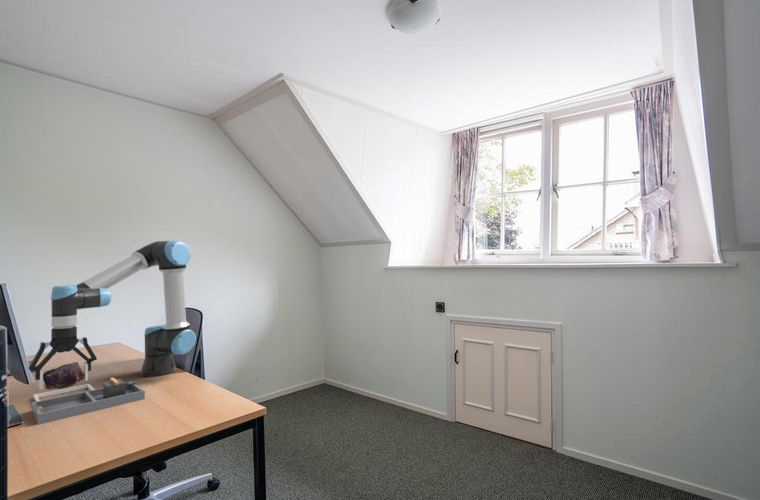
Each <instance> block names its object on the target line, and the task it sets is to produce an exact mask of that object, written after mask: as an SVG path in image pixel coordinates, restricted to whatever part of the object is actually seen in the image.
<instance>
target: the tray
mask: <svg viewBox="0 0 760 500" xmlns="http://www.w3.org/2000/svg"><path fill="white" fill-rule="evenodd" d="M83 389H87V390H88V391H90V390H94V389H95V388H94V386H92V385H91V384H90V383H86V384H82V385H76V386H71V387H67V388H63V389H56V390H55V389H54V390H50V391H45V392H41V393H35V394H33V400H34V402H37V401H41V400H40V398H44V397H49V396H50V397H51V396H53V395H59V394H64V393H69V392H74V391H79V390H83Z"/></svg>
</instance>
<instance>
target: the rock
mask: <svg viewBox="0 0 760 500" xmlns="http://www.w3.org/2000/svg"><path fill="white" fill-rule="evenodd" d="M82 380H84V370H82V367H80V364H79V363H78V362H77V361H74V362H71V363H66V364H62V365H61V366H58V367H56V368H52V369H49V370H46V371H43V383H44V387H45V389H46V390H53V389H54V390H55V389H56V390H60V389H65V388H70V387H73V386H74V385H77V383H79V382H81V381H82Z"/></svg>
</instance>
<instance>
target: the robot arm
mask: <svg viewBox="0 0 760 500" xmlns="http://www.w3.org/2000/svg"><path fill="white" fill-rule="evenodd" d="M191 256H192V253H191V249H190V247H189V246H188V245H187V244H186V243H185V242H184V241H180V240H165V241H164V240H159V241H154V242H151V243H148V244H147V245H145V246H143V247H141V248H139V249H137V250H135V251H133V252H132V253H131V256H129V257H127V258H125V259H123V260H121V261H119V262H117V263H115V264H114V265H111V266H110V267H108V268H106V269H105V270H103V271H101V272H98V273H97V274H95V275H93V276H91V277H90V278H88V279H85V280H84V281H82V282H80V283H78V284H76V285H74V284H67V285H63V284H62V285H54V286H53V287H52V289H51V297H50V299H51V300H50V301H51V325H50V327H52V328H51V332H50V337H51V339H50V341H48V342H45V341H41V342H40V343H39V349H38V350H37V352H36V354H35V355H34V357H33V359H32V361H31V362H30V364H29V366H28V369H29V371H31V372H32V371H34V373H35V374H34V377H35V380H36V381H38V389H39V390H43V388H44V380H43V374H44V370H43V367H45V365H46V364H47V363H48V362H49V361H50V360H51V359H52V358H53V356H55V355H56V353H64V352H67V353H68V352H69V353H70V352H71V351H73V352H75V353H76V354H77V355H79V356H80V357H81V358H82V359H83V360H84V361H85V362H83V374H84V379H83V380H84V381H85V382H87V381H89V372H91V370H92V362H94V361H97V359H98V358H97V356H96V354H95V353H94V351H93V349H92V348H91V346H90V345H89V343H88V338H87V337H85V336H83V337H81V338H78V334H77V333H78V331H77V330H78V327H77V324H78V315H77V314H78V310H83V309H92V308H94V309H95V308H102V307H106V306H108V305H110V303H111V302H112V293H111V291H110V288H111V287H113V286H115V285H117V284H118V283H119V282H122V281H123V280H125V279H127V278H129V277H130V276H132V275H134V274H136V273H138V272H139V271H142V270H144V271H146V270H147V269H149V268H151V267H156V266H158V271H159V272H161V273H162V278H163V296H164V308H165V310H164V311H165V324H159V325H153V326H147V327H146V328H145V330H144V335H143V336H144V359H143V363H142V365H141V368H140V376H142V377H159V376H164V375H169V374H172V373H174V372H176V368H177V367H176V364H175V360H174V358H173V355H172V354H174V355H185V354H188V353H189V352H190V351H192V349H193V347H195V345H196V341H197V336H196V333H195V332H194V331H193V330H191V324H190V323H189V322H188V321H187V315H186V314H187V312H186V300H185V298H186V297H185V284H184V283H185V282H184V272H185V270H186V269H187V265H188V263H189V261H190V260H191ZM78 343H80V344H82V345H83V347H84V348H85V350H86V352H87V353H88V354H89V357H90V358H89V357H88V356H87V355H85V354H84V353H83V352H82V351H81V350H80V349H79V348H78V347H77V344H78ZM49 346H50V347H51V350H49V352H48V354H47V355H46V356H45V357H43V359H42V360H41V361H40V362H39V360H40V359H41V357H42V355H43V354H44V351H45V349H48V347H49Z"/></svg>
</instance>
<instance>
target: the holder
mask: <svg viewBox="0 0 760 500" xmlns="http://www.w3.org/2000/svg"><path fill="white" fill-rule="evenodd" d="M145 396H146V395H145V390H144V389H143V388H142V387H140V386H139V385H137V381H136V380H132V381H124V380H123V379H121V378H115V377H110V378H109V380H107V381H103V383H102V387H99V388H94V390H85V391H81V392H76V393H72V394H71V393H70V394H65V395H61V396H57V397H53V398H52V397H51V398H48V399H47V398H46V399H42V400H40V401H37V402H35V401H32V402H31V413H32V415H33V416H34V418H35V422H36V423H37V425H42V424H45V423H49V422H53V421H54V422H55V421H58V420H61V419H62V420H63V419H66V418H69V417H74V416H79V415H83V414H86V413H91V412H95V411H99V410H104V409H107V408H112V407H117V406H120V405H124V404H128V403H134V402H137V401H141V400H145Z"/></svg>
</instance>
